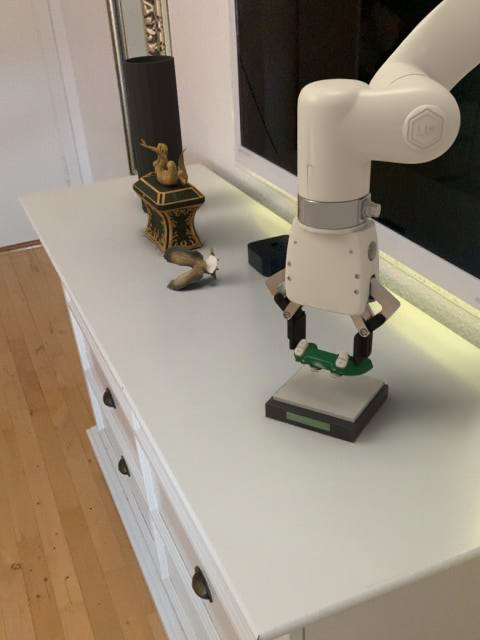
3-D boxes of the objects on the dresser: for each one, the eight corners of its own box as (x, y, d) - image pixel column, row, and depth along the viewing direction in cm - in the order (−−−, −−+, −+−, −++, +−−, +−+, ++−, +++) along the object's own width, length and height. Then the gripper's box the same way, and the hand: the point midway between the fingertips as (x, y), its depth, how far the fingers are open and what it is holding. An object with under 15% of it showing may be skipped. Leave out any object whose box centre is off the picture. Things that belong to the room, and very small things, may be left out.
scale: (387, 397, 91) (389, 380, 89) (352, 442, 83) (353, 425, 82) (304, 375, 96) (305, 359, 95) (265, 416, 89) (264, 399, 87)
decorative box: (136, 232, 146) (122, 132, 134) (180, 224, 149) (170, 125, 137) (169, 265, 130) (157, 155, 119) (217, 254, 134) (209, 146, 122)
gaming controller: (301, 372, 90) (282, 357, 85) (312, 344, 90) (293, 329, 85) (365, 391, 86) (349, 377, 80) (376, 362, 86) (361, 346, 81)
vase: (186, 214, 153) (171, 61, 136) (140, 216, 154) (119, 64, 136) (189, 199, 162) (175, 54, 144) (145, 201, 162) (127, 56, 145)
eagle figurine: (207, 261, 128) (159, 261, 125) (217, 236, 122) (167, 235, 119) (215, 296, 125) (166, 297, 122) (226, 272, 119) (175, 272, 116)
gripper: (423, 208, 74) (408, 355, 84) (278, 189, 81) (280, 325, 91) (397, 232, 68) (384, 384, 79) (244, 209, 76) (251, 350, 86)
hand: (328, 352), depth 85 cm, fingers closed on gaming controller, 7 cm apart
